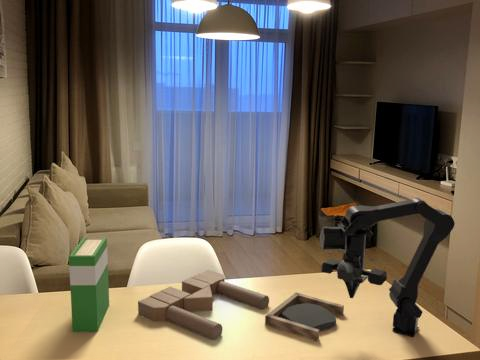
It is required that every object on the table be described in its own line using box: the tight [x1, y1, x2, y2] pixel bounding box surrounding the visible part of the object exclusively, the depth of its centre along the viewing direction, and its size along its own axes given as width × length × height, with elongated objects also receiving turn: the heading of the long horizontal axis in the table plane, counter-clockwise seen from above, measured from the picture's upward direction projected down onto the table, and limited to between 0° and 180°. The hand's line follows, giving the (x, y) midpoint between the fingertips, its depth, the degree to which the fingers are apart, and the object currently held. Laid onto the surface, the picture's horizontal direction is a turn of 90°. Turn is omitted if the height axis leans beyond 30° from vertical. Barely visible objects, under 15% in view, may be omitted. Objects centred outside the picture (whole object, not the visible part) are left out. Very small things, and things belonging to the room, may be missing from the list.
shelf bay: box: [264, 292, 345, 342], centre depth 161 cm, size 18×21×3 cm
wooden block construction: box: [137, 269, 270, 341], centre depth 167 cm, size 35×6×29 cm
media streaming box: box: [280, 303, 337, 333], centre depth 160 cm, size 15×15×3 cm
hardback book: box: [68, 236, 110, 333], centre depth 157 cm, size 18×7×24 cm, turn 3°
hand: (351, 297), depth 152 cm, fingers closed
